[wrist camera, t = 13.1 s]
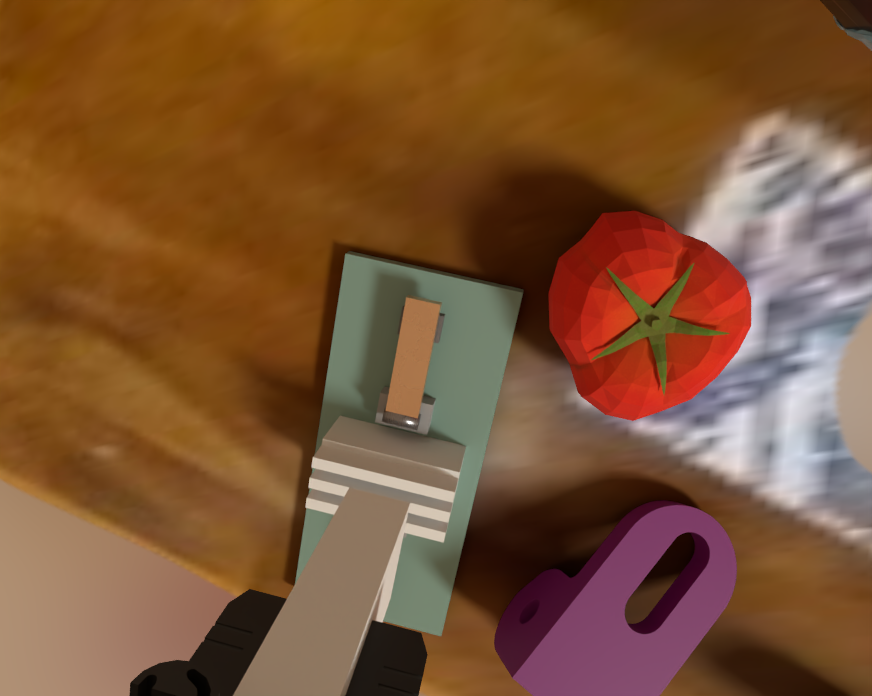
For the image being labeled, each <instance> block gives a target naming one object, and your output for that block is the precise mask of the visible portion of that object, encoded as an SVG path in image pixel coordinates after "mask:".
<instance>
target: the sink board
mask: <svg viewBox="0 0 872 696" xmlns="http://www.w3.org/2000/svg"><path fill="white" fill-rule="evenodd" d="M523 290H524V289H519V288H515V287H510V286H506V285H501V284H497V283H492V282H488V281H483V280H479V279H474V278H470V277H465V276H460V275H456V274H451V273H447V272H442V271H438V270H433V269H429V268H424V267H420V266H415V265H411V264H406V263H402V262H397V261H393V260H388V259H383V258H379V257H374V256H370V255H365V254H361V253H356V252H352V251H349V252H347V253H345V260H344V266H343V273H342V279H341V286H340V293H339V299H338V306H337V312H336V319H335V325H334V332H333V338H332V345H331V351H330V358H329V365H328V371H327V378H326V384H325V391H324V397H323V404H322V410H321V417H320V424H319V430H318V437H317V443H316V450H315V455H314V456H313V459H312V466H311V467H312V468H313V469H312V475H311V477H310V479H309V486H308V488H310V489H309V495H308V496H307V499H306V506H305V508H307V509H306V515H305V522H304V528H303V535H302V541H301V548H300V554H299V561H298V568H297V574H296V581H295V584H296V582H297V580H298V578H299V577H300V575H301V573H302V571H303V570H304V568H305V566H306V564H307V562H308V561H309V559H310V557H311V555H312V553H313V552H314V550H315V548H316V546H317V545H318V543H319V541H320V539H321V537H322V536H323V534H324V532H325V530H326V528H327V527H328V525H329V523H330V521H331V519H332V518H333V516H334V514H335V512H336V511H337V509H338V507H339V505H340V503H341V502H342V500H343V498H344V496H345V494H346V493H347V491H348V489H349V488H353V489H357V490H361V491H365V492H369V493H373V494H377V495H381V496H385V497H389V498H393V499H397V500H401V501H405V502H409V503H410V507H409V511H408V516H407V521H406V526H405V531H404V536H403V541H402V545H401V550H400V555H399V560H398V565H397V570H396V574H395V579H394V584H393V589H392V594H391V598H390V601H389V604H388V607H387V610H386V613H385V617H384V620H383V621H385V622H389V623H393V624H397V625H400V626H404V627H408V628H412V629H415V630H419V631H423V632H427V633H430V634H434V635H438V636H441V635H442V631H443V627H444V622H445V618H446V614H447V610H448V606H449V602H450V597H451V593H452V589H453V585H454V581H455V576H456V572H457V568H458V564H459V560H460V555H461V551H462V547H463V543H464V539H465V534H466V530H467V526H468V522H469V518H470V514H471V509H472V505H473V501H474V497H475V493H476V488H477V484H478V480H479V476H480V472H481V467H482V463H483V459H484V455H485V451H486V446H487V442H488V438H489V434H490V430H491V426H492V421H493V417H494V413H495V409H496V405H497V400H498V396H499V392H500V388H501V384H502V379H503V375H504V371H505V367H506V363H507V358H508V354H509V350H510V346H511V342H512V337H513V333H514V329H515V325H516V321H517V317H518V312H519V308H520V304H521V300H522V296H523ZM408 295H412V296H416V297H420V298H425V299H429V300H434V301H438V302H442V306H441V311H440V315H439V320H438V325H437V330H436V335H435V340H434V345H433V350H432V355H431V360H430V365H429V370H428V375H427V380H426V385H425V390H424V395H423V400H422V405H421V410H420V414H421V418H420V423H419V426H418V429H417V430H414V429H410V428H406V427H401V426H397V425H393V424H389V423H385V422H382V417H383V413H384V409H385V407H386V405H387V400H388V394H389V389H390V383H391V378H392V373H393V367H394V362H395V356H396V351H397V345H398V340H399V334H400V329H401V323H402V318H403V312H404V307H405V302H406V297H407V296H408Z"/></svg>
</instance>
